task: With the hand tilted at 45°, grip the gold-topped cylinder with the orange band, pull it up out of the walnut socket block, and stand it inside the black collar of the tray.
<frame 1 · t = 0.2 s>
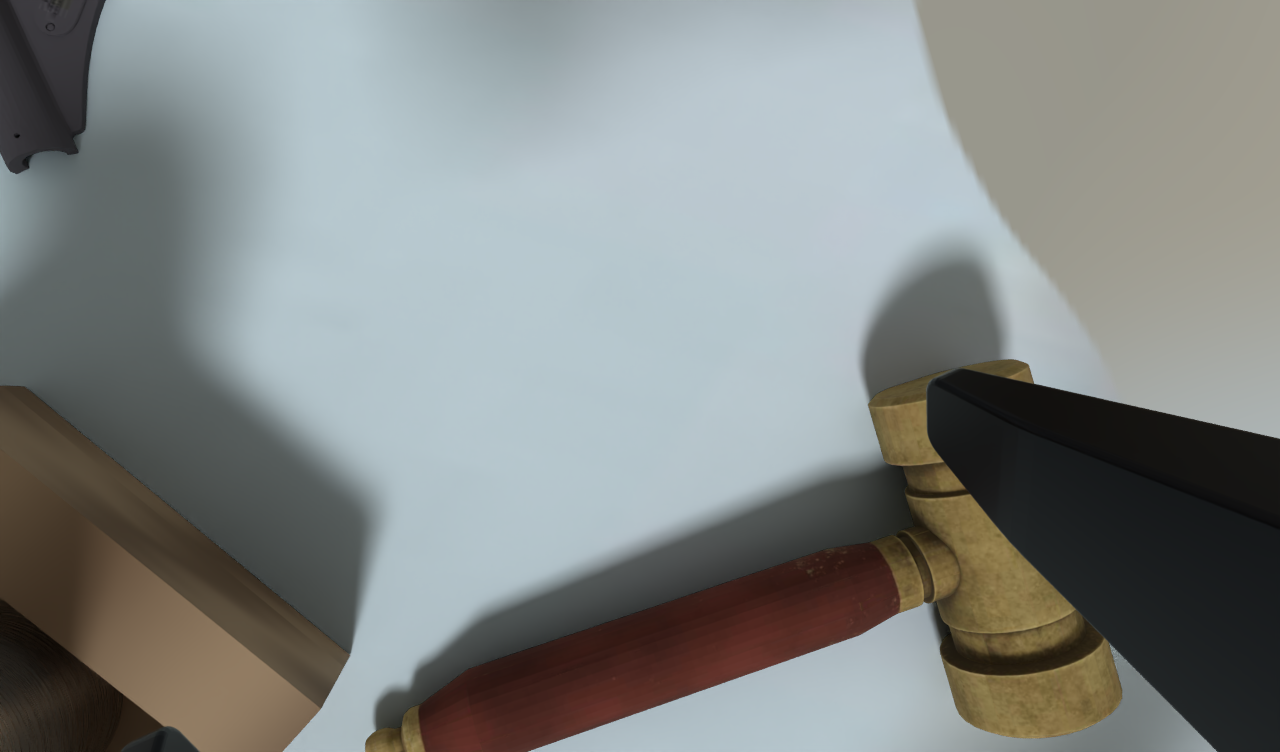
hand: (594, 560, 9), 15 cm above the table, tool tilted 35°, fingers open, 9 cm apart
socket block: (33, 688, 21), on the table
gold-topped cylinder: (11, 702, 20), point 1 cm above the table, touching socket block
gavel: (712, 612, 25), on the table
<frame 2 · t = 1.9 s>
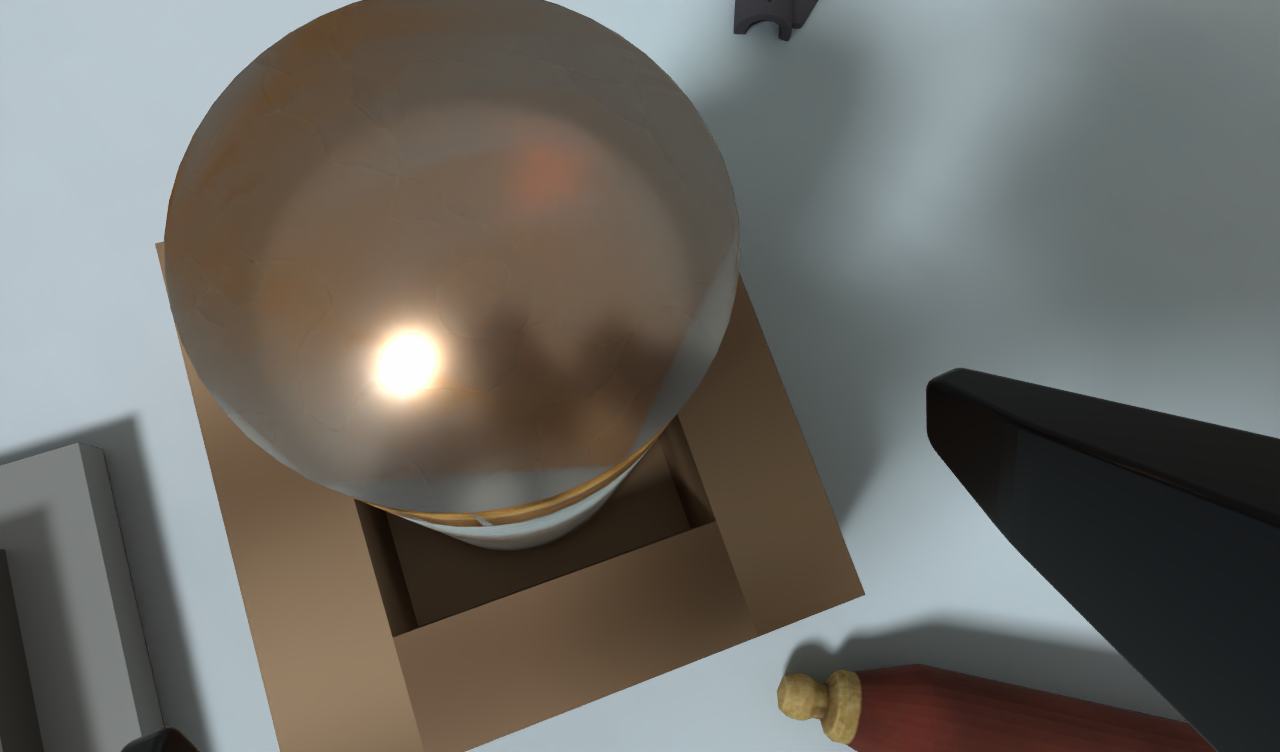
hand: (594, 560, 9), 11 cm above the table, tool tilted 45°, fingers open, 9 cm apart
socket block: (517, 448, 20), on the table
gold-topped cylinder: (515, 441, 19), point 1 cm above the table, touching socket block
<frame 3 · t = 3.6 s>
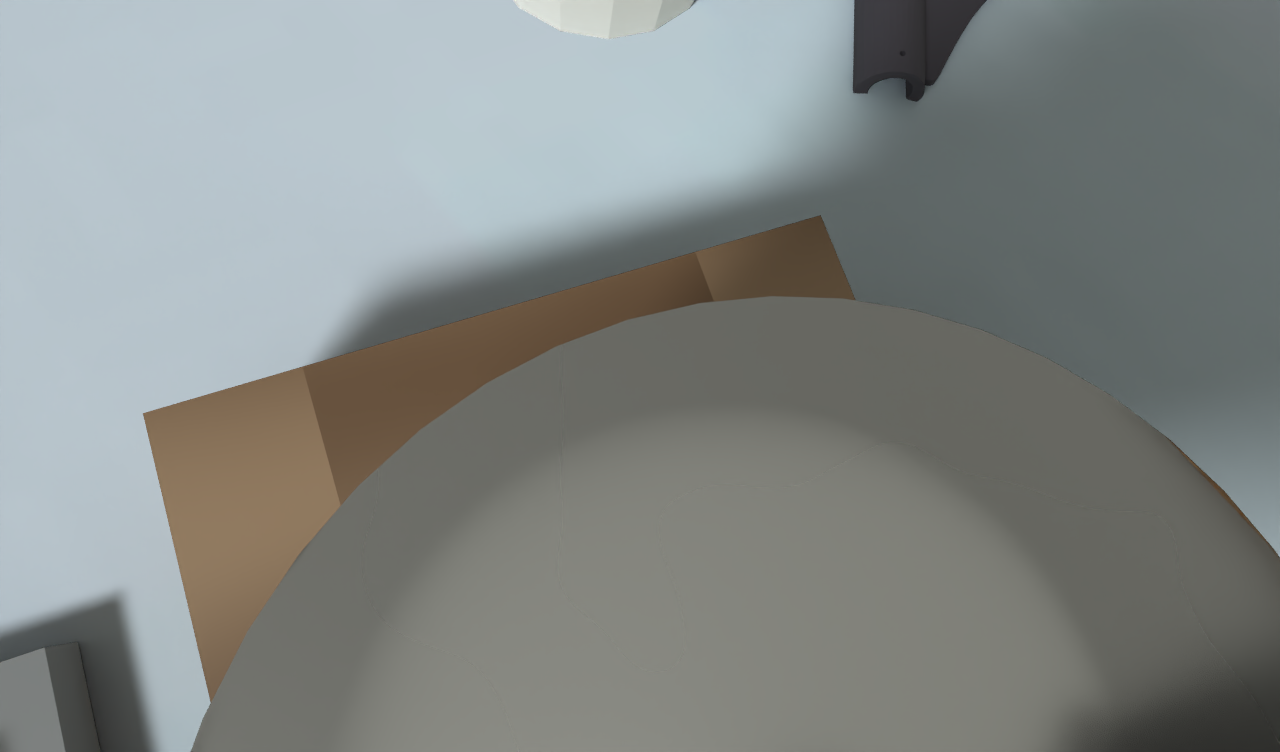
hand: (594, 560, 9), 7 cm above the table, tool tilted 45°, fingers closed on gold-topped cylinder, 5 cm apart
socket block: (602, 629, 16), on the table
gold-topped cylinder: (605, 633, 15), point 1 cm above the table, touching gripper, socket block
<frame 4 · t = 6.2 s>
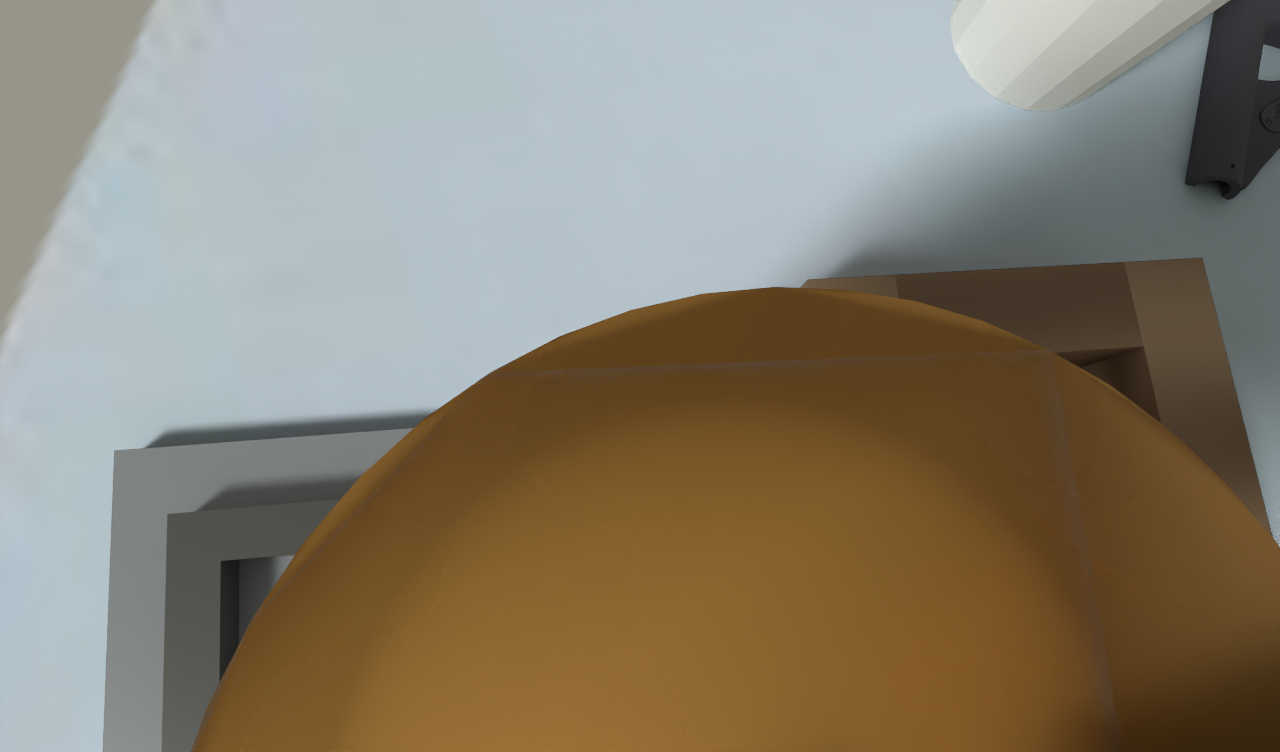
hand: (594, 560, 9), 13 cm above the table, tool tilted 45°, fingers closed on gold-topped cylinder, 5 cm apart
shot glass: (1025, 40, 28), on the table
tray: (416, 703, 21), on the table
socket block: (970, 492, 24), on the table
gold-topped cylinder: (606, 630, 15), point 7 cm above the table, touching gripper
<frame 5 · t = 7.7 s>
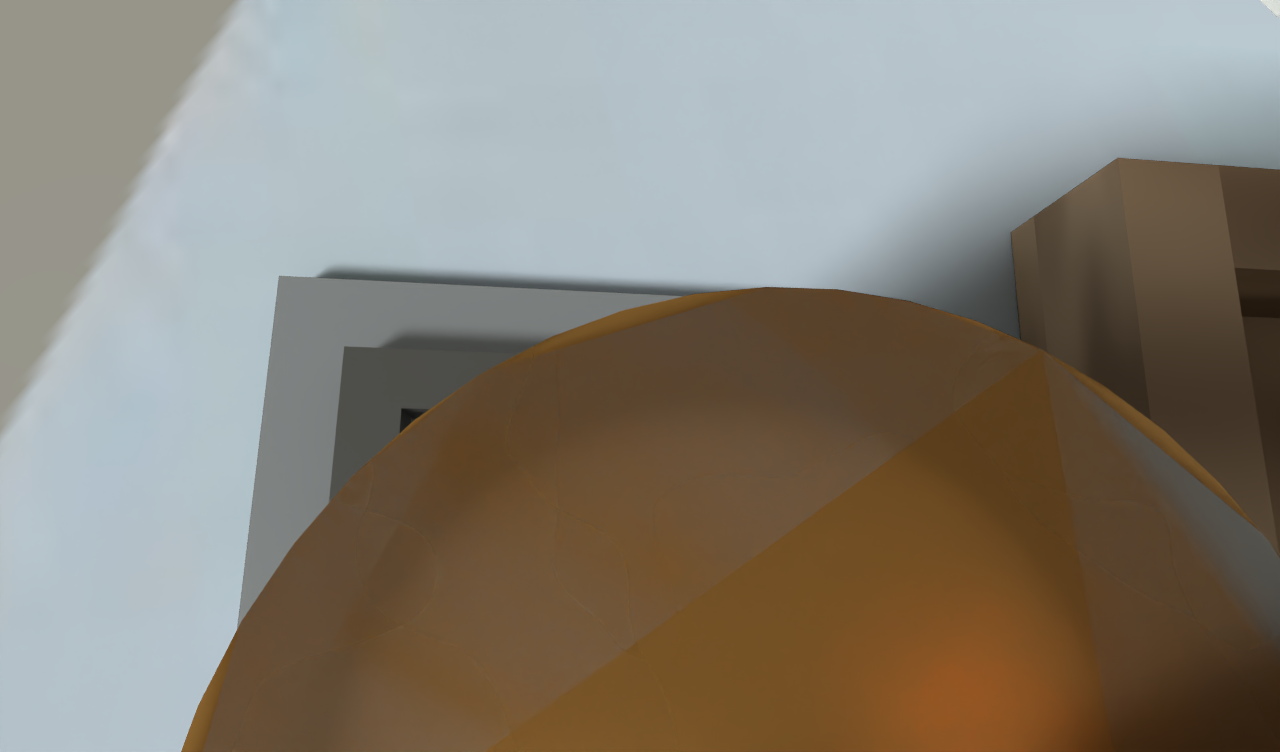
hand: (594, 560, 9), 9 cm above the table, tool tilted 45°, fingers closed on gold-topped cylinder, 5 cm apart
tray: (592, 613, 18), on the table
socket block: (1238, 451, 20), on the table
gold-topped cylinder: (604, 630, 15), point 3 cm above the table, touching gripper
when the fingers open (9 cm above the table, at t = 8.1 s): gold-topped cylinder drops 2 cm, resting on tray.
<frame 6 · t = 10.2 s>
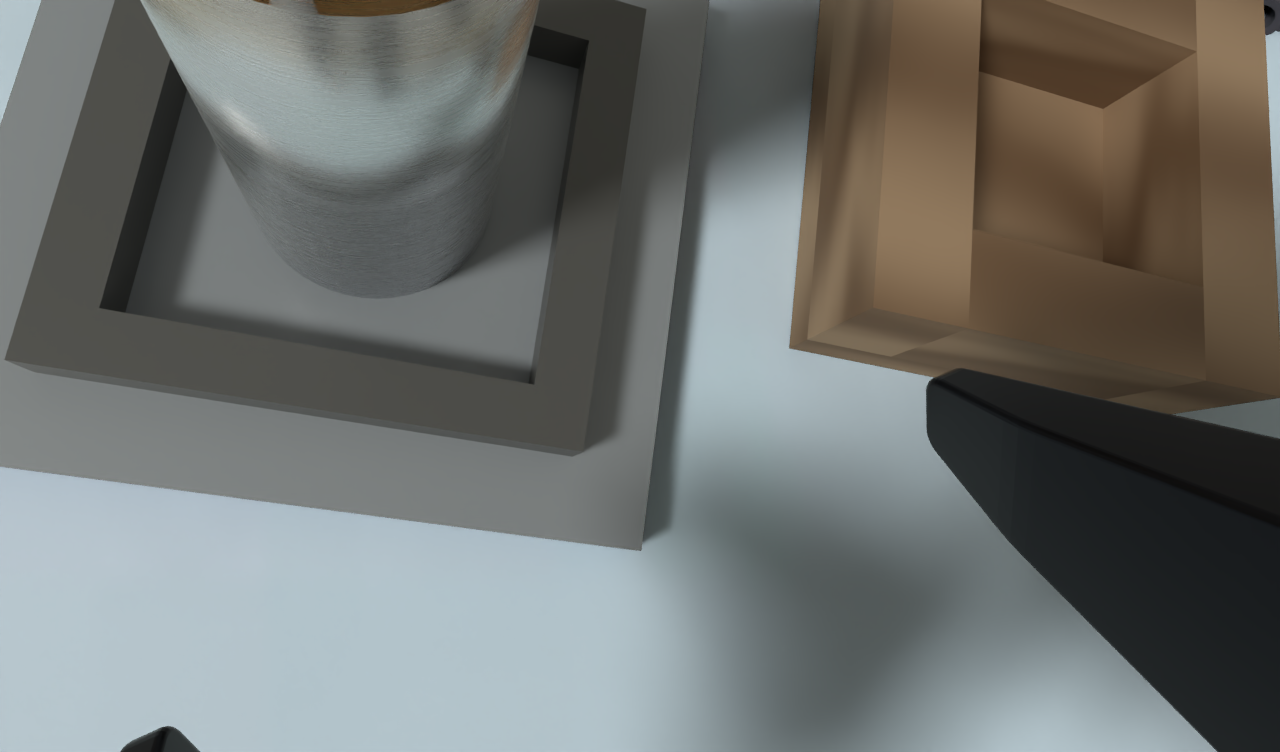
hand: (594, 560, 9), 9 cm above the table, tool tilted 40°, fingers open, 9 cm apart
tray: (376, 201, 19), on the table
socket block: (982, 198, 23), on the table
gold-topped cylinder: (375, 187, 18), point 1 cm above the table, touching tray
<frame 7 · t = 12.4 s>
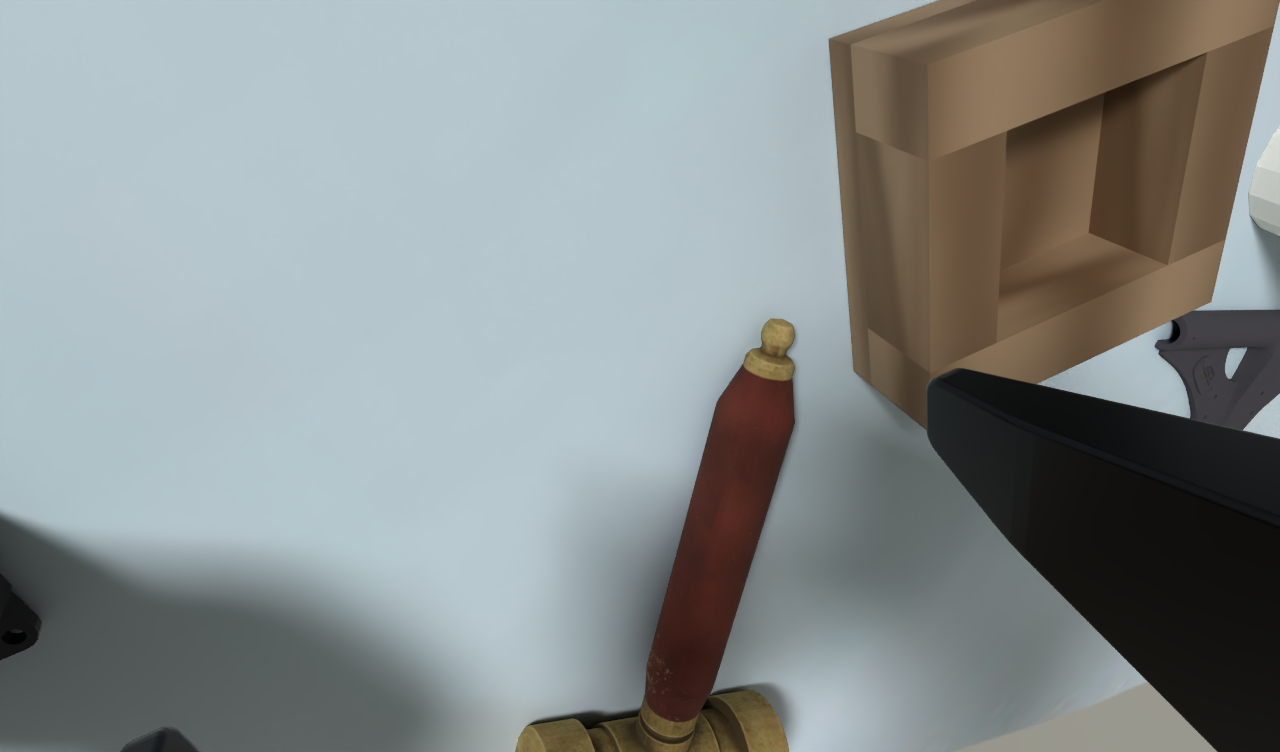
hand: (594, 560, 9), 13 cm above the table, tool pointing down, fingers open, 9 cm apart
bracket: (1182, 440, 40), on the table
socket block: (992, 166, 26), on the table
gavel: (679, 561, 30), on the table
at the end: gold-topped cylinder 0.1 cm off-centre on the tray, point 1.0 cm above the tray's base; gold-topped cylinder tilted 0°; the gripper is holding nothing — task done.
